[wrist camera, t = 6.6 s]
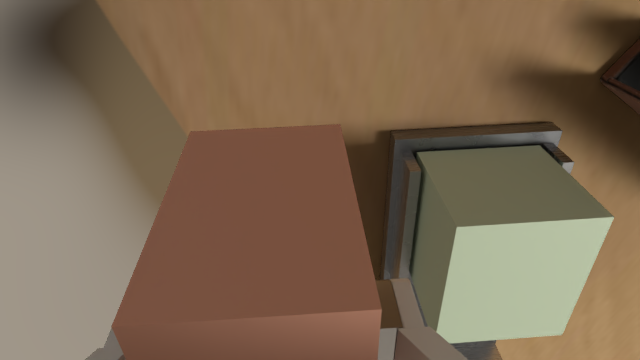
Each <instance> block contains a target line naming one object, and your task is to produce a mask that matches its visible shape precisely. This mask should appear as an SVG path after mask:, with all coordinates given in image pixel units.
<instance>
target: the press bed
mask: <svg viewBox="0 0 640 360" xmlns="http://www.w3.org/2000/svg"><path fill="white" fill-rule="evenodd" d="M561 134H562V130H561V129H560V128H559V127H557V126H556V125H555V124H554V123H553V122H549V123H530V124H511V125H492V126H474V127H455V128H436V129H417V130H399V131H391V137H390V150H389V163H388V177H387V190H386V203H385V217H384V230H383V243H382V257H381V270H380V280H385V279H389V280H390V279H402V278H408V279H409V280H410V282H411V285H412V289H413V292H414V295H415V298H416V301H417V304H418V307H419V311H420V314H421V317H422V320H423V323H424V326H425V327H428V325H427V323H426V320H425V317H424V314H423V311H422V308H421V305H420V302H419V299H418V296H417V293H416V290H415V287H414V284H413V281H412V278H411V275H410V272H409V266H410V258H411V250H412V242H413V234H414V226H415V218H416V210H417V202H418V194H419V186H420V178H421V169H420V167H419V165H418V163H417V162H416V157H417V152H429V151H446V150H464V149H482V148H500V147H518V146H536V145H540V146H541V147H542V148H543V149H544V150H545V151H546V152H547V153H548V154H549V155H550V156H551V157H552V158H553V159H554V160H555V161H556V162H557V163H559V164H560V165H561V166H562V167H563V168H564V169H565V170H566V171H567V172H568V173H569V174H570V173H571V170H572V167H573V165H574V162H573V161H572V160H571V159H570V158H569V157H568V156H567V155H566V154H565V153H564V152H562V151H561V150H560V149H559V148H558V143H559V140H560V137H561ZM495 343H496V340H489V341H476V342H463V343H451V345H452V346H453V347H454V348H455V349H456V350H458V351H459V352H460V353H461V354H462V355H463V356H464V357H466V358H467V359H468V360H502V358H501V355H500V353H499V351H498V349H497V347H496V345H495Z"/></svg>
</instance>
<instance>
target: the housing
mask: <svg viewBox="0 0 640 360" xmlns="http://www.w3.org/2000/svg"><path fill="white" fill-rule="evenodd" d="M381 313H382V308H381V304H380V299H379V295H378V290H377V286H376V281H375V277H374V272H373V268H372V263H371V259H370V254H369V250H368V246H367V241H366V237H365V232H364V228H363V223H362V219H361V214H360V210H359V205H358V201H357V197H356V192H355V188H354V183H353V179H352V174H351V170H350V165H349V161H348V156H347V152H346V147H345V143H344V139H343V134H342V130H341V125H340V124H336V125H315V126H295V127H274V128H253V129H233V130H212V131H191V132H190V134H189V137H188V139H187V142H186V144H185V147H184V149H183V151H182V154H181V157H180V159H179V161H178V164H177V166H176V169H175V171H174V174H173V176H172V179H171V181H170V184H169V186H168V189H167V191H166V194H165V196H164V199H163V201H162V203H161V206H160V208H159V211H158V213H157V216H156V218H155V221H154V223H153V226H152V228H151V230H150V233H149V236H148V238H147V241H146V243H145V245H144V248H143V250H142V253H141V255H140V258H139V260H138V263H137V265H136V268H135V270H134V272H133V275H132V277H131V280H130V282H129V285H128V287H127V290H126V292H125V295H124V297H123V300H122V302H121V305H120V307H119V309H118V312H117V315H116V317H115V319H114V322H113V324H112V329H113V332H114V334H115V336H116V338H117V340H118V343H119V345H120V347H121V349H122V351H123V354H124V356H125V358H126V360H378V348H379V337H380V325H381Z"/></svg>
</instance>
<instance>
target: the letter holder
mask: <svg viewBox="0 0 640 360" xmlns="http://www.w3.org/2000/svg"><path fill="white" fill-rule="evenodd" d="M600 81H601V83H602V84H603V85H605V86H606V87H607V88H608V89H610V90H611V91H612V92H613V93H615V94H616V95H617V96H618V97H619V98H620V99H622V100H623V101H624V102H625V103H627V104H628V105H629V106H630V107H631V108H632V109H633V110H635V111H636V112H637V113H638V114H639V115H640V39H639V40H638V41H637V42H636V43H635V44H634V45H633V46H632V47H631V48H630V49H628V50H627V51H626V52H625V53H624V54H623V55H622V56H621V57H620V58H619V59H618V60H617V61H616V62H615V63H614V64H613V66H612V67H611V68H610V69H609V70H608V71H607V72H606V73H605V74H604V75H603V76H602V77H601V78H600Z"/></svg>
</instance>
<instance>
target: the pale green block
mask: <svg viewBox="0 0 640 360" xmlns="http://www.w3.org/2000/svg"><path fill="white" fill-rule="evenodd" d="M416 162H417V163H418V165H419V167H420V169H421V178H420V186H419V194H418V202H417V210H416V218H415V226H414V234H413V242H412V250H411V258H410V266H409V272H410V275H411V278H412V281H413V284H414V287H415V290H416V293H417V296H418V299H419V302H420V305H421V308H422V311H423V314H424V317H425V320H426V323H427V325H428V327H431V328H432V329H433V330H435V331H436V332H437V333H438V334H439V335H440V336H442V337H443V338H444V339H445V340H446V341H447V342H448V343H450V344H451V343H463V342H476V341H489V340H502V339H514V338H527V337H540V336H553V335H562V334H563V332H564V329H565V327H566V325H567V323H568V320H569V318H570V316H571V314H572V311H573V309H574V307H575V304H576V302H577V300H578V298H579V295H580V293H581V291H582V289H583V286H584V284H585V282H586V280H587V277H588V275H589V273H590V271H591V268H592V266H593V264H594V262H595V259H596V257H597V255H598V252H599V250H600V248H601V246H602V243H603V241H604V239H605V237H606V234H607V232H608V230H609V228H610V225H611V223H612V221H613V219H614V216H613V215H612V214H611V213H610V212H608V211H607V210H606V209H605V208H604V207H603V206H602V205H601V204H600V203H599V202H598V201H597V200H596V199H595V198H594V197H593V196H592V195H591V194H590V193H589V192H588V191H587V190H586V189H585V188H584V187H582V186H581V185H580V184H579V183H578V182H577V181H576V180H575V179H574V178H573V177H572V176H571V175H570V174H569V173H568V172H567V171H566V170H565V169H564V168H563V167H562V166H561V165H560V164H559V163H557V162H556V161H555V160H554V159H553V158H552V157H551V156H550V155H549V154H548V153H547V152H546V151H545V150H544V149H543V148H542V147H541V146H540V145H536V146H518V147H500V148H482V149H464V150H446V151H429V152H417V157H416Z"/></svg>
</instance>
